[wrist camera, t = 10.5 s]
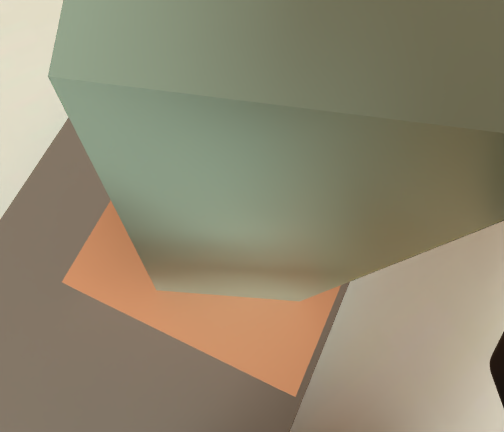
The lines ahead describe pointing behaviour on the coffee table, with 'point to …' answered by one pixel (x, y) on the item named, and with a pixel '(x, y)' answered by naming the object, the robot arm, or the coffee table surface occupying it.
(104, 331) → the baseplate
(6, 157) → the coffee table surface
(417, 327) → the coffee table surface
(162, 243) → the tall brick
